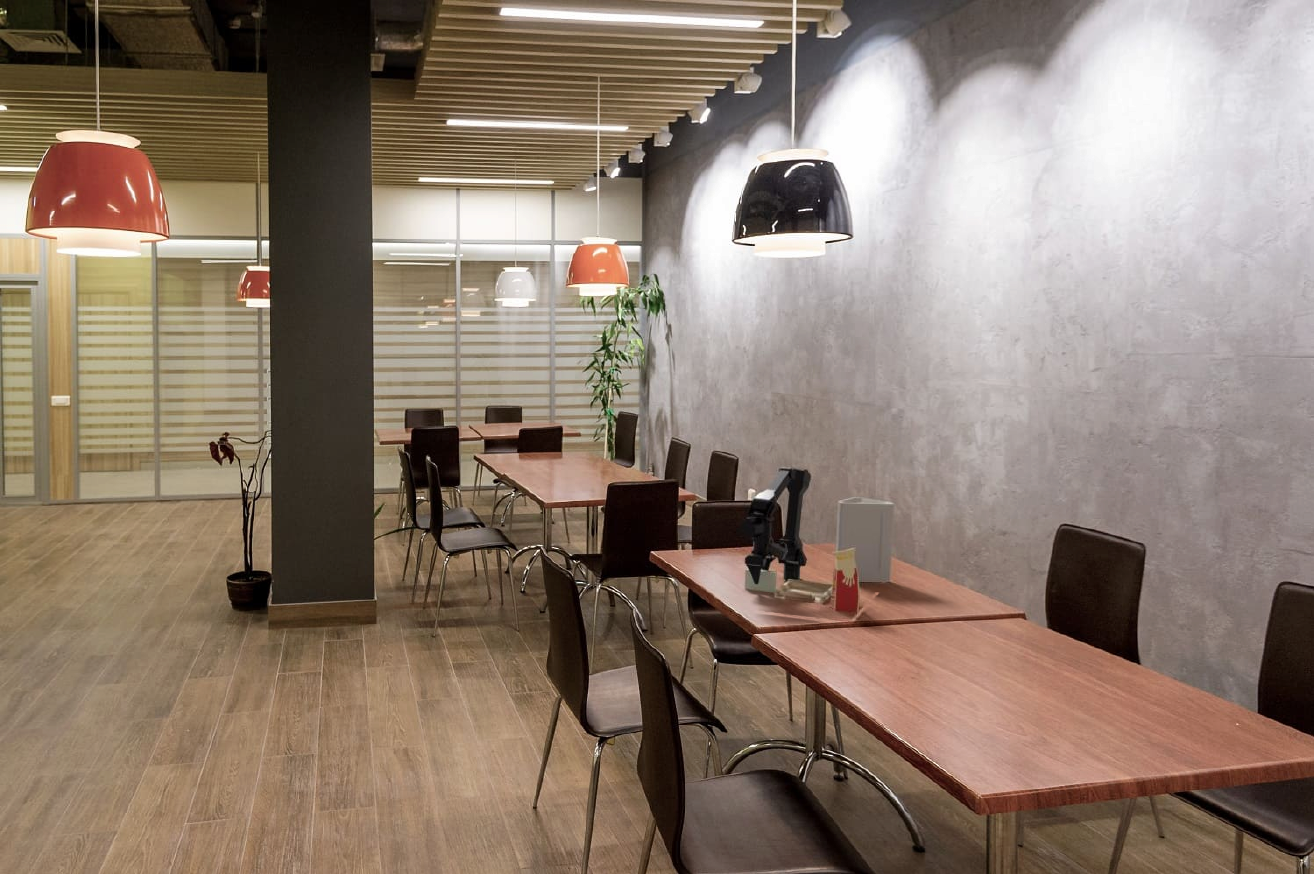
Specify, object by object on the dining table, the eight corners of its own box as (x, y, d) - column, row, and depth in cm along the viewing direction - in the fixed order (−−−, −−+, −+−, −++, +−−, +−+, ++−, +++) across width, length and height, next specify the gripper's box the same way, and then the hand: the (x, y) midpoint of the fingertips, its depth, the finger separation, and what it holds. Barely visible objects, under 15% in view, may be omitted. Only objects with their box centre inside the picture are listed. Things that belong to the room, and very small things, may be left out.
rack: (788, 589, 358) (788, 578, 358) (835, 594, 352) (835, 584, 352) (774, 600, 341) (774, 589, 341) (823, 606, 336) (823, 595, 335)
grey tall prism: (879, 574, 387) (883, 498, 385) (890, 583, 373) (894, 504, 370) (827, 573, 386) (831, 496, 384) (837, 582, 371) (840, 503, 369)
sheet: (746, 588, 354) (747, 568, 354) (775, 592, 351) (776, 571, 350) (744, 590, 352) (745, 569, 352) (773, 593, 348) (774, 572, 348)
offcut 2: (787, 596, 344) (788, 592, 344) (815, 599, 341) (815, 596, 340) (784, 598, 340) (784, 595, 340) (812, 601, 337) (812, 598, 337)
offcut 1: (786, 593, 343) (787, 590, 343) (811, 595, 341) (811, 592, 341) (785, 595, 340) (785, 592, 339) (810, 598, 337) (810, 595, 337)
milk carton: (857, 607, 335) (860, 545, 334) (859, 615, 326) (862, 550, 324) (828, 606, 336) (830, 543, 335) (829, 613, 327) (832, 549, 325)
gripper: (778, 541, 338) (776, 590, 340) (793, 532, 355) (791, 578, 357) (745, 538, 342) (743, 586, 344) (761, 529, 360) (759, 575, 361)
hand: (760, 581), depth 351 cm, fingers open, 9 cm apart
